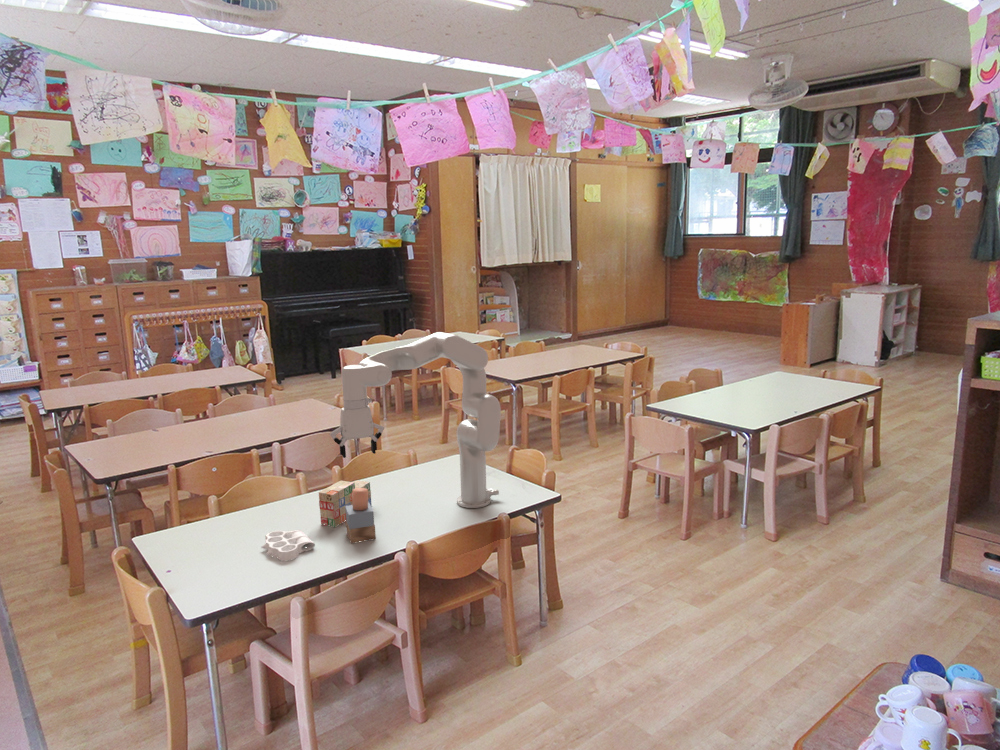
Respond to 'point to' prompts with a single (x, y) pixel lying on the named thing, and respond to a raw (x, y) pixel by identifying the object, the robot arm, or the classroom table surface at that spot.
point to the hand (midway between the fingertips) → (358, 454)
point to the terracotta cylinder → (360, 498)
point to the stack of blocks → (338, 501)
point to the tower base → (361, 533)
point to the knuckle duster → (287, 544)
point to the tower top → (359, 517)
